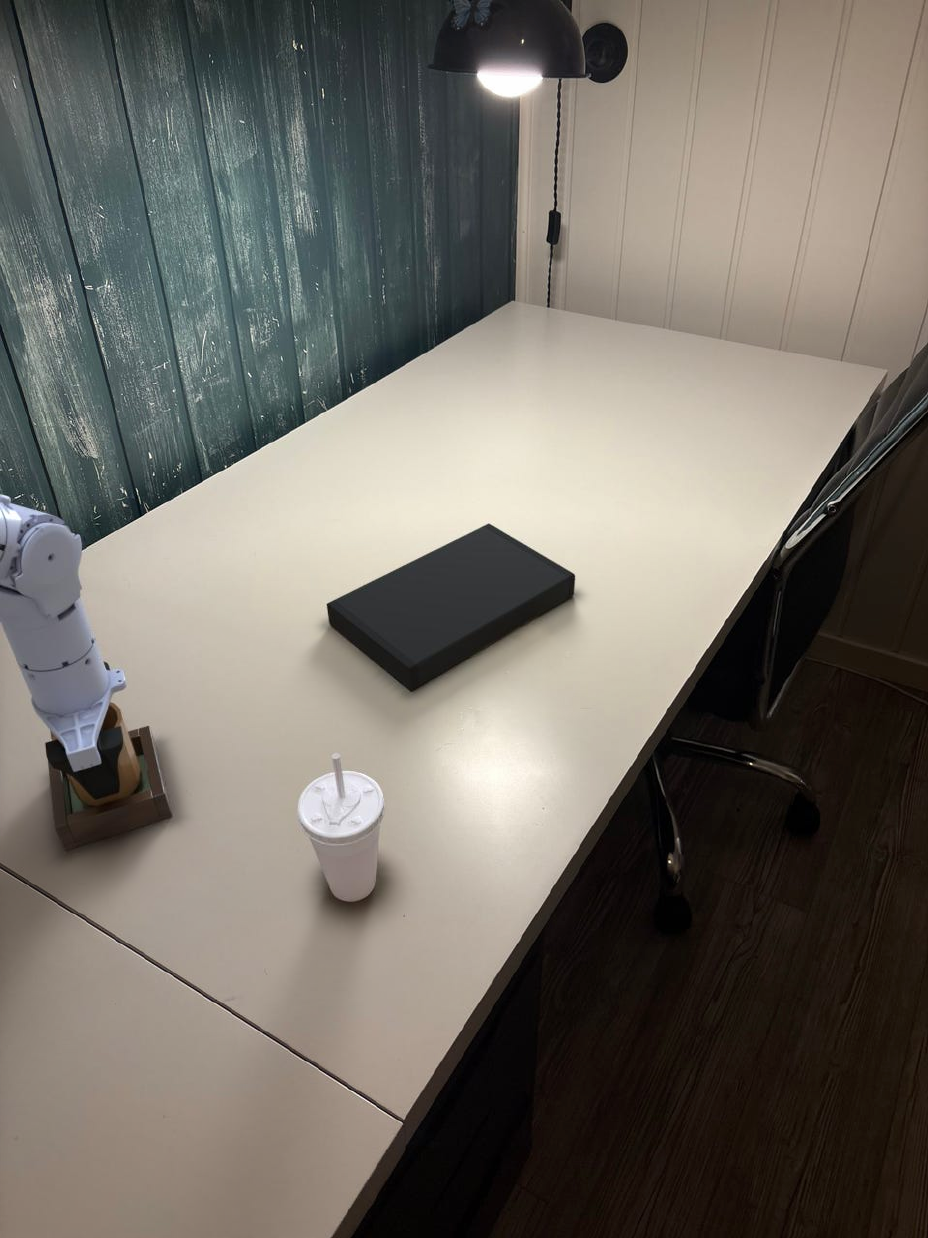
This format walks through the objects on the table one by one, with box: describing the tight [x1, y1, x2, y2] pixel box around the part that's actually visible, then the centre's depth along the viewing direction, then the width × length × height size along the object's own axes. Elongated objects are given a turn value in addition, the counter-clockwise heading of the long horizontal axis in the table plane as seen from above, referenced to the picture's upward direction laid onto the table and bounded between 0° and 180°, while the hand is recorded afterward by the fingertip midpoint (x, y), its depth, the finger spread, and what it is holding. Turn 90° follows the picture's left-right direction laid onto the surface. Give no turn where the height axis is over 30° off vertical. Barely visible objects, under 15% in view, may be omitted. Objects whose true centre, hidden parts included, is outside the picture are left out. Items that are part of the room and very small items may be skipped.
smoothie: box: [297, 752, 386, 903], centre depth 69 cm, size 6×6×14 cm
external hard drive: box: [326, 523, 576, 692], centre depth 99 cm, size 14×23×3 cm, turn 131°
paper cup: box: [49, 701, 142, 806], centre depth 77 cm, size 6×6×7 cm
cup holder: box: [47, 725, 173, 852], centre depth 79 cm, size 9×9×3 cm
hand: (102, 768), depth 78 cm, fingers closed on paper cup, 5 cm apart
